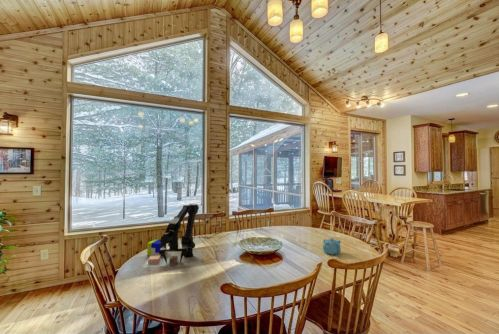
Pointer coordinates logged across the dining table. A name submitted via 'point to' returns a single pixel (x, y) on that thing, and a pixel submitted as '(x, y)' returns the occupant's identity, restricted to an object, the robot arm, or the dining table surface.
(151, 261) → the terracotta base
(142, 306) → the dining table surface
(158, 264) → the grey flat slab
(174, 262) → the walnut cube
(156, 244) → the puzzle toy
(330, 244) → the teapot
